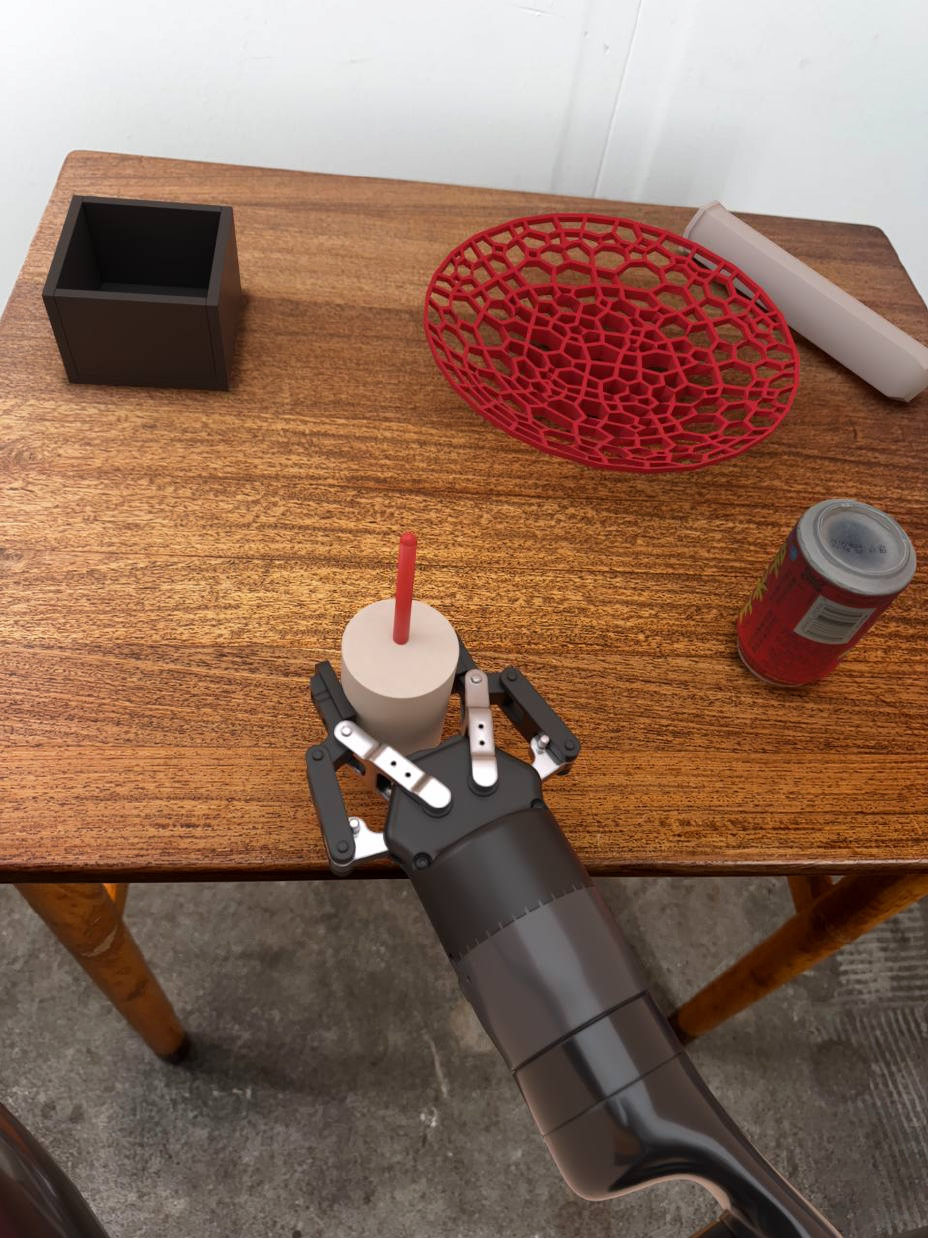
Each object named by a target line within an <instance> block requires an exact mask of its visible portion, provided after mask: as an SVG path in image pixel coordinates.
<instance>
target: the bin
mask: <svg viewBox="0 0 928 1238" xmlns="http://www.w3.org/2000/svg"><path fill="white" fill-rule="evenodd" d="M234 214H235V213H234V207H233V206H231V205H220V204H208V203H207V204H206V203H205V204H204V203H192V202H191V203H190V202H179V201H178V202H177V201H164V200H151V199H137V198H136V199H135V198H124V197H110V196H109V197H108V196H97V195H96V196H95V195H82V194H73V195H72V197H71V200H70V203H69V207H68V209H67V212H66V216H65V220H64V222H63V226H62V229H61V232H60V234H59V238H58V241H57V244H56V248H55V251H54V253H53V257H52V260H51V263H50V267H49V269H48V272H47V276H46V279H45V282H44V285H43V288H42V292H41V296H40V297H41V298H42V302H43V305H44V308H45V311H46V314H47V317H48V320H49V323H50V327H51V329H52V334H53V336H54V339H55V342H56V345H57V349H58V352H59V356H60V358H61V362H62V364H63V367H64V371H65V374H66V378H67V381H68V383H69V384H82V385H100V386H102V385H104V386H120V387H121V386H123V387H141V388H143V387H144V388H164V389H180V390H181V389H184V390H201V391H202V390H203V391H221V392H222V391H223V392H224V391H225V392H229V391H230V387H231V377H232V372H233V371H232V370H233V362H234V356H235V347H236V340H237V333H238V332H237V331H238V325H239V324H238V323H239V317H240V310H241V309H240V308H241V301H242V293H243V291H242V283H241V272H240V262H239V253H238V243H237V235H236V225H235V215H234Z"/></svg>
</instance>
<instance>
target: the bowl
mask: <svg viewBox="0 0 928 1238" xmlns="http://www.w3.org/2000/svg"><path fill="white" fill-rule="evenodd" d="M551 223H552V226H553V228H554V230H553V231H550V232H545V231H542V230H537V229H533V228H530V226H535V225H536V226H537V225H542V224H551ZM561 223H581V224H580V227H579V228H576V227H575V228H573V227H571V228H570V227H568V228H567V227H563V226H562V224H561ZM588 223H589V224H596V225H604V226H612V228H611V231H609V232H603V233H597V232H594V231H591V230H588V229H585V228H586V225H587V224H588ZM619 227H620V228H624V229H628V230H631V231H632V233H633V235H634V237H635V239H636V240H634V241H633V242H632V241H630V240H629V241H628V240H625V239H623V238H622V237H621V236H620V235H619V234H618V233H617V230H618V228H619ZM518 228H522V231H521V232H519V233H518V232H517V230H516V229H518ZM506 232H508V233H509V235H510V237H511V240H509V241H508V242H507V243H505V242H497V241H494V240H493V239H492V238H493V237H496V236H499V235H502V234H504V233H506ZM644 234H645V235H648V236H652V237H654V238H657V240H654V239H650V238H647V237H644ZM526 238H528V239H532V240H536V241H539V242H543V243H544V244H543V245H542V246H540V247H538V248H536V247H529V245H527V244H526V243H525V241H524V240H525V239H526ZM567 238H573V239H571V240H569V239H567ZM574 238H576V239H574ZM577 238H578V239H577ZM556 239H558V240H559V243H553V242H552V241H553V240H556ZM583 239H584V240H587V241H590V242H594V243H596V244H597V245H595V246H594V247H592V246H590V245H589V244H587V242H585V241H584V240H583ZM611 240H613V242H614V243H613V242H607V241H611ZM665 241H667V242H670V243H672V244H674V245H676V246H678V247H679V246H681V247H683V248H686V249H688V250H690V251H691V252H690V254H689V255H688V256H686V255H679V254H676V253H673V252H672V251H671V250H669V249H667V248H666V247H665V246H663V245H662V244H663V243H664V242H665ZM480 242H481V243H482V242H484V243H485V244H486V245H488V246H489V247H490V249H491V253H487V254H484V253H483V251H482V250H481V249H480V247H479V246H478V244H479V243H480ZM514 247H518V248H519V250H520V251H521V253H522V254H523V255H524V258H523V259H522V260H521V261H520V262H518V263H517V264H516V265H514V264H513V263H512V261H511V260H510V259H509V257H508V256H507V253H508V251H509V250H511V249H513V248H514ZM576 248H577V249H579V251H581V252H582V253H583V254H584V255H586V256H587V257H588V263H587V262H583V261H581V260H577V259H573V258H571V257H570V255H569V253H568V251H569V250H572V249H576ZM468 249H471V251H472V252H473V254H474V255H475V257H476V259H477V260H476V261H475V262H474V261H472V260H469V259H468V258H467V257H466V254H465V252H466V251H467V250H468ZM549 252H550V253H555V254H559V255H560V256H561V258H562V262H561V263H560V264H558V265H554V264H553V263H551V262H550V261H547V260H546V259H544V258H542V255H543V254H546V253H549ZM602 252H604V253H605V252H606V253H615V254H617V255H619V256H620V257H622V258H623V262H622V263H621V264H620V265H619V266H617V267H616V268H614V269H612V268H609V267H604V266H599V265H596V258H595V256H597V255H599V254H600V253H602ZM654 252H655V253H657V254H659V255H660V256H662V257H664V258H665V259H667V260H668V262H669V263H667V264H665V265H662V266H660V267H659V266H658V265H656V264H655V263H654V262H653V261H651V260H650V259H649V258H648V255H650V254H652V253H654ZM633 253H634V254H638V255H641V258H631V254H633ZM696 253H697V254H698V255H700V256H702V257H703V258H705V259H707V260H709V261H710V262H712V263H714V264H716V265H717V266H718V267H717V268H716V269H715V271H712V270H710V269H708V268H702V267H700V265H698V264H697V263H696V262H695V261H694V260H693V259H694V258H693V257H694V255H695V254H696ZM492 261H495V262H497V263H500V264H503V265H504V266H505V268H506V270H505V271H503V272H501V273H498V272H497V271H496V270H495V269H494V267H493V266H492V265H491V262H492ZM450 264H451V265H452V266H453V269H454V270H453V272H451V274H449V275H448V274H445V273H444V272H445V271H446V269H447V268H448V267H449V266H450ZM461 266H464V267H465V268H467V269H468V270H469V274H468V275H467V274H466V275H463V276H462V275H461V273H459V267H461ZM480 268H483V269H484V270H485V272H486V273H487V275H488V276H489V279H488V280H487V281H485V282H484V283H482V284H481V282H480V281H479V280H478V279H477V278H476V277H475V276H474V275H475V271H476V270H478V269H480ZM524 268H538V269H540V270H541V271H543V272H544V273H546V274H547V275H548V276H550V282H545V283H543V282H542V283H536V284H534V283H533V284H530V283H529V282H528V281H527V279H525V277H524V276H523V274H521V272H522V270H523V269H524ZM632 268H634V269H636V268H641V269H643V268H644V269H647V270H649V271H650V272H651V273H652V274H654V275H656V276H657V277H658V280H659V282H660V284H657V285H655V286H654V287H652V288H650V289H645V288H641V287H640V288H639V287H634V286H628V285H623V283H622V281H621V280H620V278H619V277H620V276H622V274H624V273H625V272H626V271H627V270H629V269H632ZM722 269H724V270H726V271H727V272H729V273H730V274H731V275H730V276H729V277H728V276H726V275H723V274H721V273H720V272H721V270H722ZM568 270H570V271H573V272H576V273H580V274H584V275H586V276H589V278H590V283H587V284H581V285H569V284H564V283H561V282H557V276H558V275H560V274H562V273H564V272H566V271H568ZM671 272H674V273H679V274H682V276H684V277H685V279H686V280H687V281H686V283H685V284H684V285H683V286H681V285H678V284H675V283H672V282H669V281H668V280H667V279H668V278H667V276H666V275H667V274H668V273H671ZM431 276H432V277H431V279H430V282H429V285H428V286H427V290H426V291H425V296H424V297H425V298H424V308H423V309H424V310H423V323H422V324H423V329H424V334H425V339H426V343H427V344H428V347H429V349H430V353H431V355H432V358H433V360H434V363H435V365H436V367H437V368H438V370H439V371H440V372H441V374H442V376H443V377H444V379H445V380H446V381H447V383H448V384H449V385H450V387H451V389H452V390H453V391H454V392H455V393H456V394H457V395H458V396H459V397H460V398H461V399H462V400H463V401H464V402H465V403H466V404H467V405H468V406H469V407H470V408H471V409H472V410H473V411H474V412H475V413H476V414H477V415H479V416H480V417H481V418H483V419H485V420H486V421H488V423H490V424H492V425H493V426H495V427H496V428H498V429H499V430H500V431H502V432H503V433H505V434H506V435H507V436H509V437H512V438H514V439H515V440H517V441H520V442H521V443H524V444H525V445H528V446H530V447H532V448H534V449H536V450H537V451H540V452H542V453H544V454H547V455H551V456H553V457H556V458H560V459H564V460H566V461H570V462H573V463H576V464H579V465H581V466H586V467H589V468H593V469H596V470H603V471H612V472H622V473H632V474H641V475H657V474H671V473H686V472H695V471H698V470H701V469H704V468H707V467H710V466H715V465H717V464H720V463H722V462H727V461H730V460H732V459H736V458H737V457H739V456H741V455H742V454H744V453H746V452H748V451H749V450H751V449H753V448H754V447H756V446H758V445H759V444H761V443H762V442H764V441H765V440H766V439H767V438H768V437H770V436H771V435H772V434H773V433H775V431H776V430H777V429H778V427H779V426H780V424H781V423H782V422H783V421H784V419H785V418H786V416H787V415H788V413H789V412H790V410H791V407H792V404H793V402H794V400H795V396H796V393H797V391H798V388H799V385H800V369H801V368H800V364H801V363H800V362H801V357H800V354H799V352H798V349H797V346H796V344H795V341H794V339H793V336H792V334H791V333H792V332H791V331H790V329H789V328H790V327H789V326H788V325H787V323H786V320H785V318H784V315H783V314H782V313H781V312H780V310H779V309H778V308H777V306H776V305H775V304H774V303H773V301H772V300H771V299H770V298H769V296H768V295H767V294H766V293H765V291H764V290H763V289H762V288H761V287H760V286H759V285H757V284H756V283H755V282H754V281H753V280H752V279H751V278H749V277H748V276H747V275H746V274H745V273H744V272H742V271H741V270H740V269H739V268H738V267H737V266H736V265H734V264H732V263H731V262H729V261H727V260H725V259H724V258H722V257H720V256H718V255H717V254H715V253H713V252H711V251H710V250H708V249H706V248H704V247H703V246H701V245H699V244H698V243H695V242H693V241H690V240H688V239H686V238H683V236H681V235H679V234H676V233H674V232H671V231H669V230H666V229H663V228H660V227H656V226H652V225H649V224H645V223H642V222H639V221H635V220H633V219H629V218H624V217H617V216H609V215H603V214H602V215H601V214H596V213H595V214H594V213H588V212H552V213H546V214H545V213H544V214H539V215H532V216H525V217H517V218H515V219H511V220H509V221H506V222H504V223H501V224H499V225H495V226H493V227H490V228H488V229H485V230H483V231H480V232H478V233H475V234H473V235H471V236H470V237H469V238H468V239H466V240H464V241H463V242H462V243H460V244H459V245H457V246H456V247H455V248H453V249H452V250H450V252H449V253H448V255H447V256H446V257H445V258H444V260H443V261H442V262H441V264H440V265H439V266H438V268H436V270H435V271H434V273H433V274H432V275H431ZM735 278H737V279H738V280H739V281H740V282H741V283H743V284H744V285H745V286H746V287H747V288H748V289H749V290H750V291H751V292H753V293H754V294H755V295H754V297H753V298H752V299H748V298H746V297H744V296H742V295H740V294H738V293H737V290H736V288H735V287H734V284H733V282H732V281H733V280H734V279H735ZM599 279H603V280H607V281H610V283H604V282H600V281H599ZM511 280H513V281H514V282H515V284H516V285H517V286H518V288H515V289H513V288H512V287H511V286H510V285H508V284H507V282H509V281H511ZM713 281H714V282H717V283H719V284H721V285H723V286H725V287H726V290H727V293H728V296H729V297H728V298H727V299H725V300H724V299H722V298H719V297H718V296H714V295H712V293H711V289H710V284H712V282H713ZM437 282H441V283H446V284H447V285H448V286H449V287H450V288H451V290H449V289H447V288H445V287H442V286H440V285H437ZM470 285H471V286H472V287H473V289H471V290H470V291H467V290H466V289H464V288H463V286H464V287H465V286H470ZM693 285H694V286H697V287H700V288H701V290H702V292H703V295H704V298H703V299H700V300H698V301H697V300H696V299H695V297H694V296H693V294H692V293H691V291H690V289H691V287H692V286H693ZM496 287H497V288H498V289H499V290H500V292H501V293H502V294H503V295H504V297H503V298H496V297H494V298H493V297H490V295H489V293H488V292H489V291H491V290H492V289H495V288H496ZM433 293H434V294H435V295H438V296H440V297H442V298H445V299H447V300H448V305H440V304H439V303H438V302H437V301H436V300H435V299H434V298H433V297H432V294H433ZM662 293H667V294H671V295H675V296H680V297H681V298H682V300H683V301H684V303H685V305H686V306H685V307H683V308H680V309H679V310H677V309H675V308H672V307H671V306H669V305H666V304H665V303H663V302H661V300H660V299H659V298H658V296H659V295H661V294H662ZM545 296H551V298H552V299H542V298H540V297H545ZM590 297H593V299H594V303H593V302H581V301H580V300H579V299H584V298H590ZM477 298H481V299H482V301H483V303H484V304H483V306H481V305H480V304H479V303H478V302H477V300H476V299H477ZM610 298H614V299H610ZM615 298H616V299H615ZM758 298H759V300H760V301H761V302H762V303H763V305H764V306H765V307H766V308H767V310H768V311H767V310H766V311H767V312H766V313H765V312H764V311H763V310H762V309H760V307H759V306H758V305H756V304H757V303H756V301H757V300H758ZM524 299H527V300H528V302H529V303H530V305H531V307H532V308H530V307H529V306H526V305H525V304H523V303H522V302H521V300H524ZM632 301H636V302H637V301H639V302H644V303H646V304H647V305H648V307H643V306H639V305H637V304H635V303H634V302H632ZM453 302H460V303H461V302H463V303H467V304H468V305H469V307H470V308H471V309H472V311H474V313H475V314H476V315H477V317H476V319H475V320H474V323H471V322H468V321H466V320H464V319H462V318H460V317H458V315H457V313H456V311H455V310H454V308H453ZM731 304H735V305H737V306H739V307H740V308H743V309H744V310H745V311H744V312H739V313H738V312H737V313H733V312H732V309H731V307H730V305H731ZM707 305H708V306H711V307H714V308H716V309H718V310H721V312H722V316H718V317H715V318H710V317H709V316H708V315H707V313H706V312H705V311H704V310H703V308H704V307H705V306H707ZM429 307H431V309H433V310H434V311H435V312H436V313H437V314H438V316H439V319H440V321H441V322H440V323H439V324H438V325H435V324H434V322H432V321H430V320H429ZM561 308H566V309H570V310H571V311H565V310H562V309H561ZM490 309H491V310H501V311H502V310H503V312H504V313H505V314H506V315H507V316H508V317H509V318H507V319H504V320H500V319H499V318H497V317H496V316H494V315H492V314H491V313H489V311H490ZM618 312H620V313H618ZM621 313H622V314H621ZM545 314H548V315H545ZM749 314H751V315H752V316H753V317H754V318H752V317H751V316H749ZM445 315H447V316H448V315H449V316H450V318H451V320H453V322H454V324H455V326H454V324H452V323H450V322H448V321H447V320H446V316H445ZM690 316H693V317H694V319H695V320H696V321H691V320H690V319H689V318H688V317H690ZM517 317H519V318H520V319H519V318H517ZM773 320H775V321H776V322H774V321H773ZM483 322H484V323H485V324H486V325H488V326H489V327H491V328H492V329H493V330H494V331H496V332H497V333H498V335H499V337H500V339H501V342H502V344H500V346H486V345H485V342H484V341H483V338H482V336H481V333H480V332H479V329H480V327H481V326H482V324H483ZM760 324H762V325H764V326H765V327H766V328H767V330H764V329H759V327H758V326H759V325H760ZM671 325H675V326H677V327H678V328H680V329H681V330H683V331H684V332H685V333H684V335H682V336H678V337H673V338H668V337H667V336H666V334H664V333H663V331H662V330H661V329H663V328H666V327H669V326H671ZM725 325H730V326H731V327H733V328H735V329H737V330H739V331H740V333H741V336H742V338H743V340H742V341H739V342H737V343H734V344H732V343H730V342H728V341H725V340H723V339H721V338H720V336H719V334H718V331H717V328H719V327H722V326H725ZM603 327H607V328H608V329H611V330H613V331H606V330H604V328H603ZM460 330H462V331H464V332H466V333H469V334H471V335H472V336H473V340H474V342H475V344H472V343H469V342H468V341H467V339H466V338H465V336H464V334H463V333H462V332H461V331H460ZM445 331H446V332H448V333H450V334H451V335H453V336H454V337H456V339H457V340H458V341H459V343H460V344H461V346H462V347H463V352H462V354H461V353H460V352H459V351H457V350H454V349H453V348H451V347H450V346H448V345H447V343H446V340H445V339H444V336H443V332H445ZM615 331H616V332H615ZM774 331H780V332H781V335H782V337H783V340H784V342H785V343H781V342H778V341H777V340H776V338H775V337H774V336H773V335H772V332H774ZM431 332H432V333H431ZM512 332H514V333H515V334H517V335H518V336H520V337H522V338H523V339H525V341H522V340H519V339H516V338H513V337H510V335H509V333H512ZM701 332H704V333H705V334H706V336H707V339H708V340H709V343H710V344H711V345H710V346H709V348H703V347H699V346H694V344H693V343H692V342H691V340H690V339H689V336H690V335H691V334H696V333H701ZM758 339H759V340H758ZM760 340H765V342H766V343H767V344H764V343H762V342H761V341H760ZM530 342H533V343H537V344H542V345H545V346H546V347H548V348H549V349H550V350H548V351H543V350H541V349H540V348H538V347H536V346H534V345H532V344H530ZM746 347H749V348H751V349H752V350H755V351H756V352H757V353H759V356H760V360H759V361H757V362H756V363H753V364H752V363H749V362H747V361H744V360H741V359H739V358H738V357H737V355H738V354H737V351H738V350H740V349H743V348H746ZM437 348H438V349H439V350H440V351H441V352H443V354H444V357H445V359H443V358H441V357H440V356H439V354H438V353H439V352H438V351H437ZM716 350H717V351H719V352H723V353H727V354H729V359H727V360H724V361H720V362H717V360H716V358H715V356H714V353H715V352H716ZM678 351H680V352H681V353H680V352H679V353H678ZM771 351H777V352H781V353H785V354H789V356H790V360H787V361H783V362H782V361H779V360H776V359H773V358H769V357H768V355H767V354H768V352H771ZM509 352H511V353H513V354H515V355H516V357H512V356H510V354H509ZM469 354H471V355H473V356H477V357H479V358H480V357H481V359H482V361H483V363H484V366H485V367H481V366H478V365H477V364H475V362H473V361H471V360H470V359H468V356H469ZM492 359H493V360H499V361H500V362H501V363H502V364H503V365H504V366H505V367H506V368H507V370H509V371H510V375H511V376H508V375H506V374H504V373H502V372H500V371H497V369H496V367H495V365H494V363H493V361H492ZM454 360H455V361H457V362H458V363H459V364H461V366H459V365H457V364H456V363H455V361H454ZM599 360H601V361H599ZM698 362H704V363H698ZM652 367H659V368H663V369H667V371H663V372H658V371H655V370H652V369H648V368H652ZM761 367H763V368H766V369H771V370H773V371H778V372H777V373H776V374H774V375H772V376H771V377H769V378H763V377H759V375H758V372H757V370H758V369H760V368H761ZM790 368H792V370H791V369H790ZM729 369H734V370H736V371H739V372H742V373H745V374H748V375H749V376H750V380H751V382H749V384H748V385H747V386H741V385H740V386H739V385H732V384H726V383H724V381H723V378H722V375H721V373H722V372H724V371H727V370H729ZM787 369H790V370H787ZM450 372H452V373H453V375H454V376H455V377H456V379H457V380H458V382H456V380H455V379H454V377H453V376H452V375H451V373H450ZM520 372H521V373H523V374H521V373H520ZM691 376H709V377H710V380H711V382H712V385H709V386H702V385H698V384H695V383H692V382H689V381H688V379H687V378H689V377H691ZM482 378H483V379H486V380H489V381H492V382H493V383H494V384H495V385H496V386H497V388H498V389H499V390H500V391H498V390H497V389H495V388H493V387H492V386H490V385H488V384H486V383H485V382H484V381H483V379H482ZM781 379H792V383H791V384H789V385H786V386H783V387H781V388H770V387H769V386H770V385H772V384H774V383H776V382H778V381H780V380H781ZM671 385H673V386H674V387H675V388H673V387H670V386H671ZM788 393H790V394H789V396H788V400H787V403H786V404H781V403H780V402H779V401H778V400H777V398H778V397H781V396H783V395H786V394H788ZM721 395H723V396H733V397H734V396H735V397H741V400H737V401H736V400H735V401H729V402H728V401H727V400H726V399H724V398H723V397H721ZM684 396H686V397H690V398H694V399H698V400H696V401H694V402H691V403H685V402H676V401H679V400H680V399H681V398H682V397H684ZM749 397H759V399H757V400H750V399H749ZM507 401H508V402H510V403H512V404H513V405H514V406H515V407H517V408H518V409H519V410H520V411H521V412H519V411H517V410H515V409H513V408H512V407H511V406H510V405H509V404H508V403H506V402H507ZM659 401H660V402H659ZM763 404H768V405H770V406H771V407H772V408H771V409H769V408H760V407H758V406H760V405H763ZM707 406H714V407H716V408H717V411H716V412H710V413H698V411H697V410H699V409H700V408H703V407H707ZM739 410H743V411H744V412H746V413H747V415H746V417H745V418H744V419H743V420H728V419H727V418H726V417H724V416H723V415H724V414H725V413H727V412H733V411H739ZM780 413H781V414H780ZM587 415H588V416H587ZM533 416H537V417H542V418H544V419H546V420H548V421H550V422H552V423H554V424H555V425H557V426H560V427H561V428H563V429H565V430H568V432H567V431H563V430H560V429H555V428H552V427H549V426H547V425H545V424H543V423H542V422H540V421H539V420H537V419H535V418H534V417H533ZM589 416H593V417H589ZM595 417H597V418H595ZM675 417H681V418H679V419H676V418H675ZM753 417H759V418H761V417H762V418H768V419H770V420H771V421H773V422H774V423H773V425H772V426H762V427H755V426H754V425H753V424H752V423H751V422H750V421H751V420H752V418H753ZM706 423H708V424H709V423H712V424H714V425H715V426H717V428H719V429H718V430H717V431H713V432H709V433H705V434H703V433H699V432H693V431H687V430H684V428H687V427H688V426H690V425H693V424H706ZM741 428H742V429H743V430H744V432H746V433H744V434H743V435H741V436H729V435H727V436H725V435H724V434H723V432H724V431H726V430H733V429H741ZM586 436H587V437H586ZM615 436H617V437H615ZM547 437H550V438H554V439H557V440H561V441H565V442H568V443H572V444H568V445H567V444H564V443H561V442H559V441H555V440H552V439H550V438H547ZM588 437H589V438H588ZM590 437H591V438H590ZM592 438H594V439H596V440H594V439H592ZM677 441H684V442H692V443H698V444H694V445H684V444H683V445H682V444H677V443H676V442H677ZM657 445H660V446H661V447H662V448H664V449H649V448H648V446H657ZM739 445H743V446H741V447H739V448H738V449H733V448H735V447H737V446H739ZM646 446H647V448H646ZM706 450H711V451H707V452H705V453H699V452H702V451H706ZM602 452H604V453H608V454H613V455H617V456H621V457H615V456H614V457H613V456H605V454H603V453H602ZM673 453H674V454H673ZM679 460H694V461H700V462H695V463H691V464H683V463H679V462H675V461H679Z"/></svg>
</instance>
